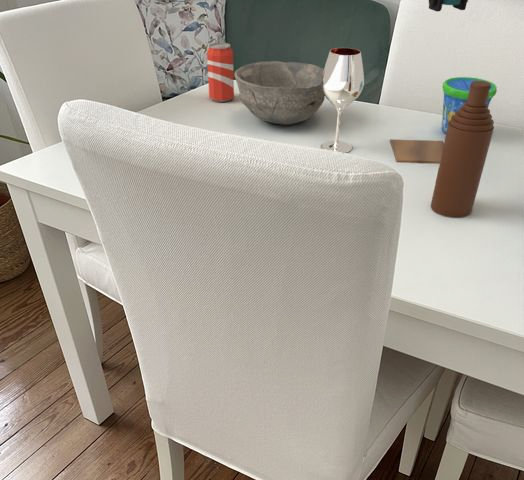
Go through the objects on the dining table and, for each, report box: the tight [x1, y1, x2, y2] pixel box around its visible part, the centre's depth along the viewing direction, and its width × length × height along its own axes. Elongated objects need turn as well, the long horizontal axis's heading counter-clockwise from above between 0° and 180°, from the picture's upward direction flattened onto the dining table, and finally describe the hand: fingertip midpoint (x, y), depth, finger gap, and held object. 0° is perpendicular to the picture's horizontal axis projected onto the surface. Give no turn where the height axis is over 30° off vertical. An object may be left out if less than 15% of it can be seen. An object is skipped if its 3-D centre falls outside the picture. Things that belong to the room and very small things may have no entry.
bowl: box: [233, 60, 326, 126], centre depth 126 cm, size 21×21×10 cm
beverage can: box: [206, 42, 235, 103], centre depth 137 cm, size 6×6×12 cm
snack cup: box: [441, 76, 498, 134], centre depth 120 cm, size 16×10×10 cm
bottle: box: [430, 81, 495, 219], centre depth 90 cm, size 7×7×20 cm
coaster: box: [389, 139, 444, 164], centre depth 116 cm, size 11×11×1 cm
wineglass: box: [320, 47, 365, 154], centre depth 111 cm, size 8×8×18 cm
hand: (446, 8), depth 99 cm, fingers closed on cap, 4 cm apart
